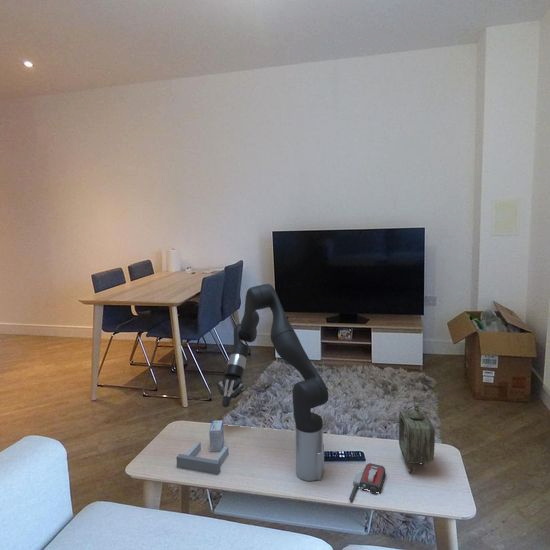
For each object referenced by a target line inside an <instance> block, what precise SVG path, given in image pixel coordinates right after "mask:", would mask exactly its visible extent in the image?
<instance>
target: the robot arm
mask: <svg viewBox="0 0 550 550" xmlns="http://www.w3.org/2000/svg"><path fill="white" fill-rule="evenodd" d="M244 301H245V302H244V312H243V316H242V319H241V321H240V323H237V324H236V325H235V327H234V328H233V345H232V350H231V353H230V356H229V359H228V362H227V365H226V369H225V372H224V376H223V377H222V379H221V380H220V381H217V382H216V383H215V384H216V386H217V389H218V392H219V395H220V396H222V402H221V405H222V407H223V408H228V407H230V405H231V404H230V403H231V400H232V399H236V398H238V396H240V394H241V393H243V392H244V391H245V390H246V387H245V385H243V382H242V380H243V376H244V372H245V369H246V365H247V358H248V354H249V350H250V348H249V346H248V345H247V344H246V343H253V342H255V341H256V339H257V335H258V329H257V328H258V327H257V326H258V324H259V322H260V315H259V313H258V312H257V311H259V310H264V309H267V308H269V309H270V310H271V313H272V324H271V329H270V341H271V343H272V345H273V347H274V349H275V351H276V354H277V355H278V356H279V357H280V358H281V359H282V360H283V361H285V362H286V363H287V364H289V365H290V366H291V367H292V368H294V369H295V370H297V372H299V374H300V375H301V377H302V378H303V380H302V381H297V382H296V383H295V384H294V385H293V388H292V408H293V410H292V412H293V418H294V421H295V422H294V423H295V474H296V476H297V477H298V478H299V479H300V480H303V481H307V482H313V481H314V482H315V481H322V478H323V475H324V471H325V444H323V443H324V439H323V437H324V436H323V435H324V434H323V433H324V428H323V426H324V425H323V424H324V423H323V418H322V416H321V415H320V414H318V413H315V412H311V411H312V409H314V408H318V407H320V406H322V405H325V404H326V403H327V402H329V391H328V387H327V385H326V383H325V381H324V379H323V378H322V377H321V375H320V372H318V370H317V369H316V367H315V366H314V364H313V363H312V362H311V359H310V358H309V356H308V354H307V353H306V351H305V349H304V347H303V345H302V343H301V340H300V339H299V336H298V335H297V333H296V331H295V330H294V327H293V326H292V324H291V323H290V320H289V318H288V317H287V314H286V312H285V310H284V308H283V306H282V304H281V301H280V298H279V296H278V294H277V291H276V289H275V288H274V287H273V285H271V284H270V283H265V284H260V285H255V286H252V287H249V288H248V289H247V291H246V294H245V300H244ZM242 341H243V342H242ZM244 342H246V343H244ZM223 388H224V389H223Z"/></svg>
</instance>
